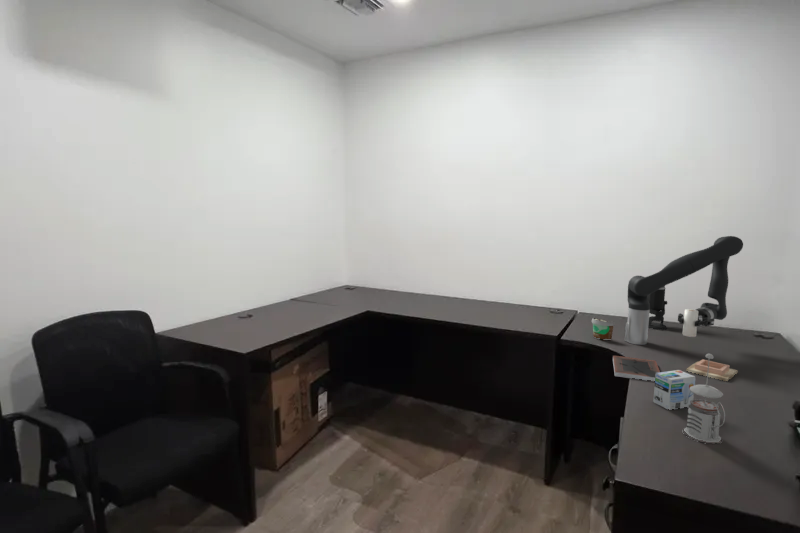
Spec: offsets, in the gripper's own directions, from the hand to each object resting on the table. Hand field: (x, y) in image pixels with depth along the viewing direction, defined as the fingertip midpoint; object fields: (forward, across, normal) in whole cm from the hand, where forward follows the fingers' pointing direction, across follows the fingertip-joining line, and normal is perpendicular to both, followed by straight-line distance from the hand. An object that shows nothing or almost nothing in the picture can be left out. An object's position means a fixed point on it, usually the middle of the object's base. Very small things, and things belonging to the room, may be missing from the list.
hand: (688, 322), depth 189 cm
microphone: (-53, -32, +18) cm, 64 cm away
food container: (-7, -41, +18) cm, 45 cm away
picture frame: (+25, -10, +19) cm, 33 cm away
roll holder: (+4, +11, +18) cm, 21 cm away
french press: (+66, +26, +18) cm, 74 cm away
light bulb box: (+49, +12, +18) cm, 54 cm away
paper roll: (-3, 0, +6) cm, 7 cm away
